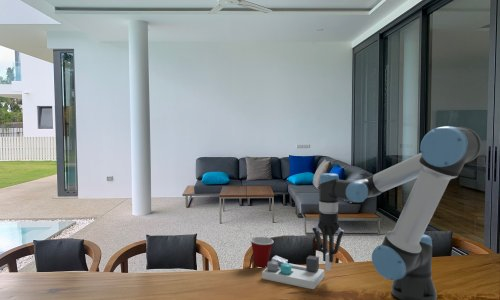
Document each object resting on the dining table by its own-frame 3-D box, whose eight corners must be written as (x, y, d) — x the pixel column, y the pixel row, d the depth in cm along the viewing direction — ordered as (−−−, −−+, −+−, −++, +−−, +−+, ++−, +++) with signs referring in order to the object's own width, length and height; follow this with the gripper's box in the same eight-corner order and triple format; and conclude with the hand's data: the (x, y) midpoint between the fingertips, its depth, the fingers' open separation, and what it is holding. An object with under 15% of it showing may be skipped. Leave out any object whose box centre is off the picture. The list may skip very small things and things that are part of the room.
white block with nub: (287, 263, 155) (288, 260, 154) (283, 266, 151) (284, 263, 151) (275, 258, 157) (275, 255, 157) (271, 261, 154) (271, 258, 154)
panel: (324, 276, 148) (324, 267, 148) (313, 289, 136) (313, 279, 136) (276, 267, 159) (276, 258, 159) (262, 278, 147) (262, 269, 146)
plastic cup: (273, 270, 156) (273, 243, 155) (249, 269, 157) (249, 242, 156) (274, 261, 167) (274, 236, 166) (251, 260, 168) (251, 235, 167)
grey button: (279, 269, 149) (279, 262, 149) (275, 272, 145) (275, 265, 145) (270, 267, 151) (270, 260, 151) (265, 270, 147) (265, 263, 147)
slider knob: (318, 268, 148) (318, 257, 148) (315, 272, 144) (315, 259, 144) (309, 267, 150) (309, 255, 150) (306, 270, 146) (306, 258, 146)
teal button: (292, 271, 146) (292, 264, 146) (288, 275, 142) (288, 267, 142) (283, 269, 148) (283, 262, 148) (278, 273, 144) (278, 266, 144)
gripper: (347, 211, 143) (346, 269, 144) (315, 208, 149) (315, 263, 150) (342, 215, 137) (341, 275, 137) (309, 211, 143) (309, 269, 144)
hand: (328, 269), depth 144 cm, fingers closed
